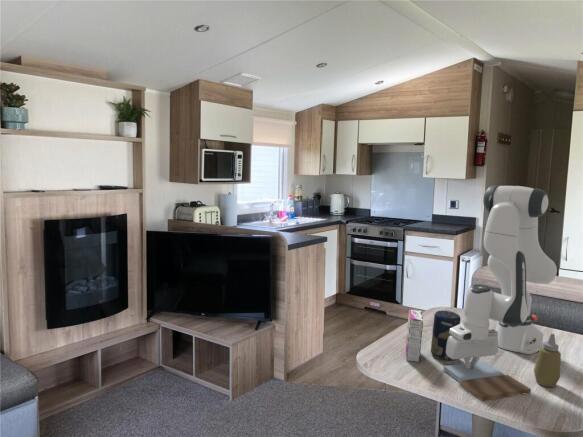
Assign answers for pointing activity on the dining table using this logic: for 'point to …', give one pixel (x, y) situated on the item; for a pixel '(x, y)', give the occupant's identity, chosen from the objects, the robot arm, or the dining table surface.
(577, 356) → the dining table surface
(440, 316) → the canister
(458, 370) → the plank
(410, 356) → the candy bar box
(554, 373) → the squeeze bottle
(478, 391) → the floorboard
